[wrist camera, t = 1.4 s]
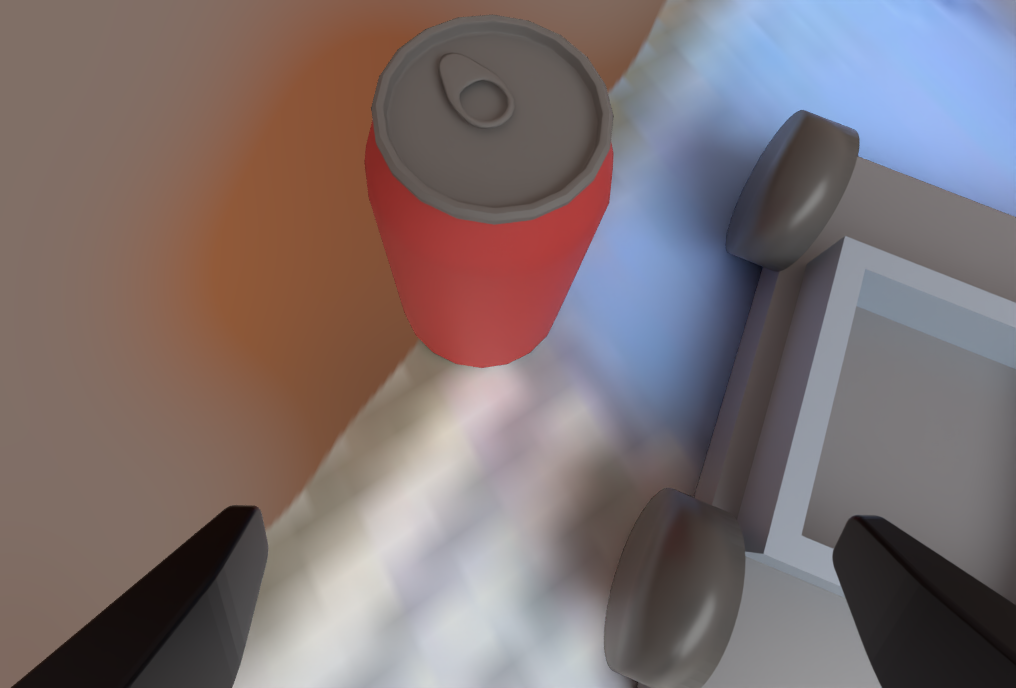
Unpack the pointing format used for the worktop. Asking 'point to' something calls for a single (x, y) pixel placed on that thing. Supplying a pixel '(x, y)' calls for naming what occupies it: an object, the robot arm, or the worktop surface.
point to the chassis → (832, 424)
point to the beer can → (487, 181)
